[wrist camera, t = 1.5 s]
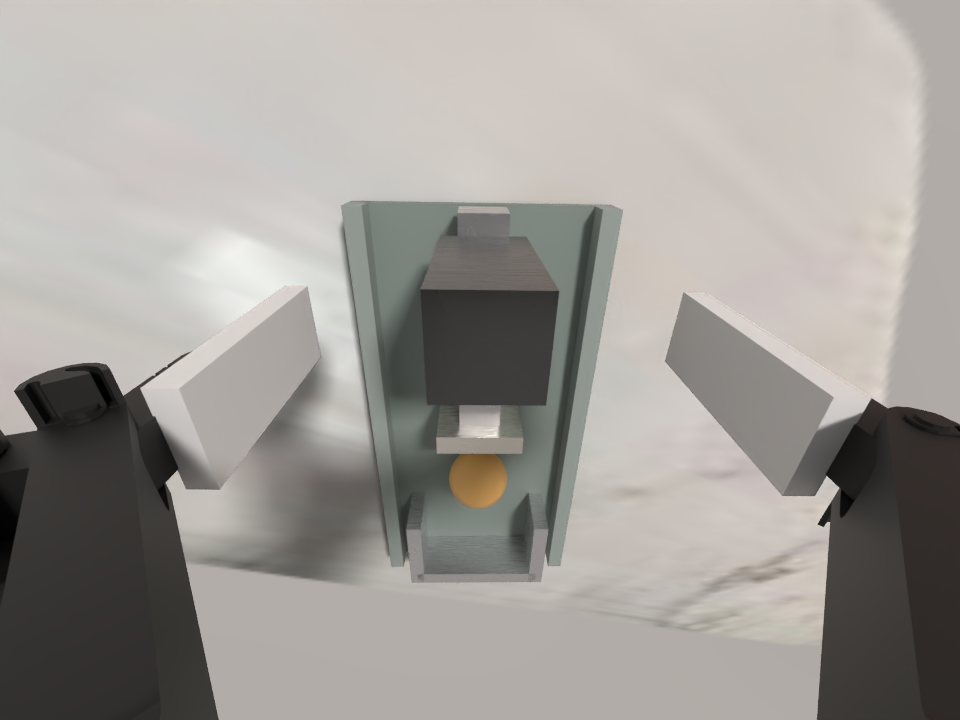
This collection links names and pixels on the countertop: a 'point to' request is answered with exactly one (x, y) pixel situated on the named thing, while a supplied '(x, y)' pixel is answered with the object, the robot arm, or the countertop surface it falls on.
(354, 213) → the grey-green channel tray
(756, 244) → the countertop surface
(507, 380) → the block
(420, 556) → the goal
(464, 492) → the ball
